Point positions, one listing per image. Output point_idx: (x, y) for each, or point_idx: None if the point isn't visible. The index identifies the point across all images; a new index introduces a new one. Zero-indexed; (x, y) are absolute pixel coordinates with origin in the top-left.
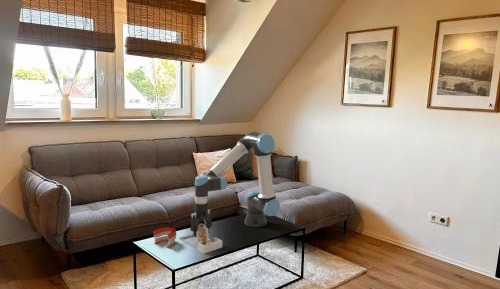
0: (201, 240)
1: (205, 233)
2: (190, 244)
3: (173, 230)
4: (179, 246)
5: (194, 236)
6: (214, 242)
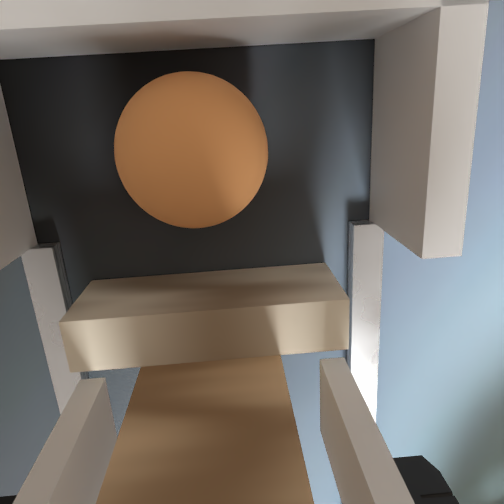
0: (258, 362)
1: (129, 473)
2: (374, 418)
3: None
4: (499, 453)
5: (433, 481)
6: (99, 16)
